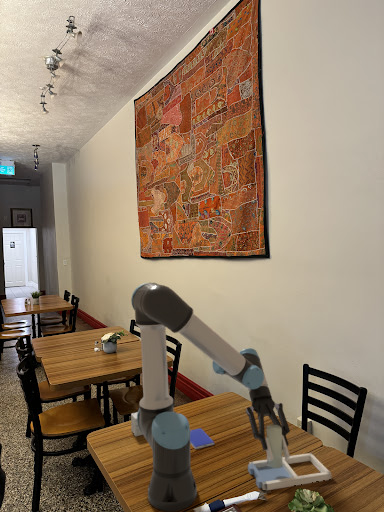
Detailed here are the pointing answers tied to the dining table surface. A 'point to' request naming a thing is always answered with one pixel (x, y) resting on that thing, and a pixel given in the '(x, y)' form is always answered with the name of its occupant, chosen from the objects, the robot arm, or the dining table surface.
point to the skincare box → (135, 425)
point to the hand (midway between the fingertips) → (279, 458)
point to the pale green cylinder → (275, 445)
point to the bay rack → (286, 472)
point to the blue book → (200, 439)
